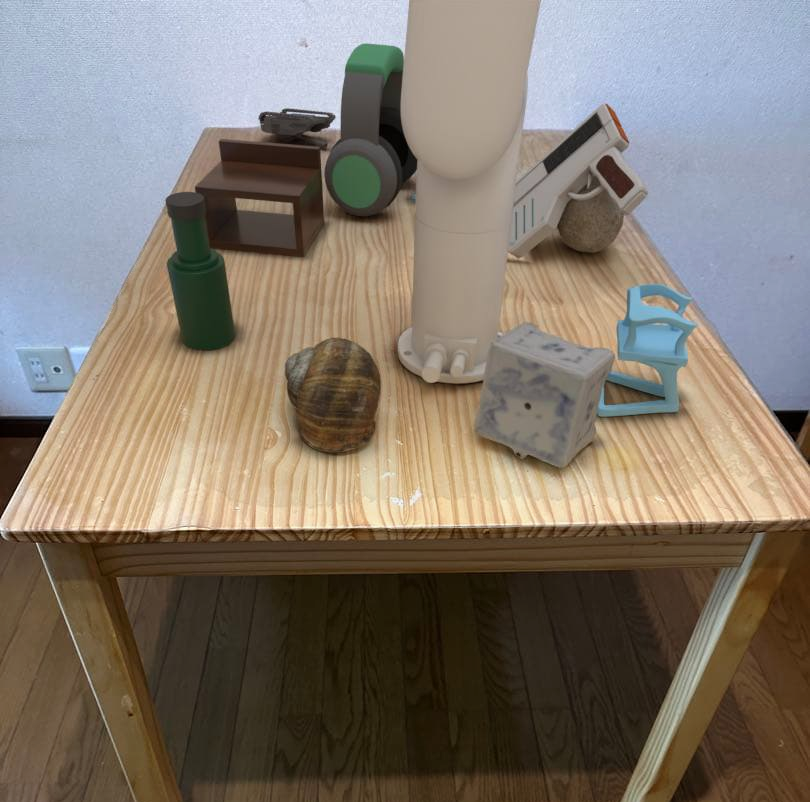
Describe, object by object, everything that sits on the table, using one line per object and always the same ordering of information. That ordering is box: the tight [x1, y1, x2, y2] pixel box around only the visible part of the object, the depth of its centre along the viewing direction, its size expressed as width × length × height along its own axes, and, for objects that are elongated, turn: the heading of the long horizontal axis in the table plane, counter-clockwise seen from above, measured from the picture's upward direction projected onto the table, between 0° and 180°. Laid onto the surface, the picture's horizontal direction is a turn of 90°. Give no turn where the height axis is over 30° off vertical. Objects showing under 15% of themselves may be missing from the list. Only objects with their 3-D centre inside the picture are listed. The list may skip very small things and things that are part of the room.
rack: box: [194, 138, 325, 258], centre depth 106 cm, size 11×14×10 cm
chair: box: [596, 283, 698, 418], centre depth 78 cm, size 8×8×12 cm
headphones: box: [324, 43, 417, 217], centre depth 113 cm, size 19×11×20 cm, turn 164°
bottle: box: [164, 191, 236, 351], centre depth 84 cm, size 6×6×16 cm
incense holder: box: [473, 321, 616, 468], centre depth 73 cm, size 10×8×10 cm
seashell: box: [284, 336, 382, 453], centre depth 76 cm, size 11×9×8 cm
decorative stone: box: [557, 176, 625, 254], centre depth 104 cm, size 10×8×10 cm
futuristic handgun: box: [508, 102, 649, 259], centre depth 100 cm, size 3×20×15 cm
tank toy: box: [257, 107, 337, 149], centre depth 136 cm, size 12×10×5 cm
